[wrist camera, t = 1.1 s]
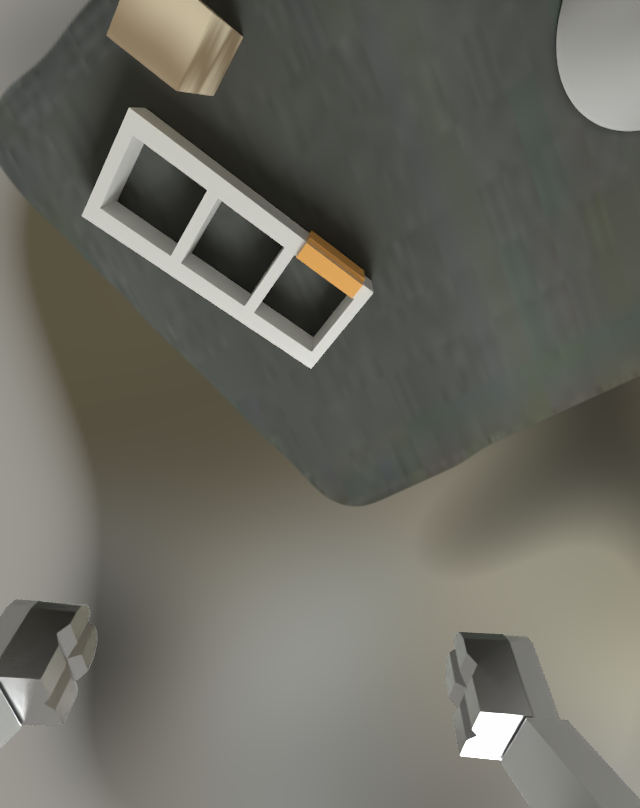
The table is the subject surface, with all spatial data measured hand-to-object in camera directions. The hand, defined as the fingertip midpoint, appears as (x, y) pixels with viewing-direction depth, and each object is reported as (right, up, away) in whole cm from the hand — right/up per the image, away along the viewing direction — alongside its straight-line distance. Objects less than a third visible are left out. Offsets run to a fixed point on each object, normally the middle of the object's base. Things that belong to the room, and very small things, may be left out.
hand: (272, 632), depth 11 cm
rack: (-6, +20, +33) cm, 39 cm away
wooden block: (-8, +32, +25) cm, 42 cm away
